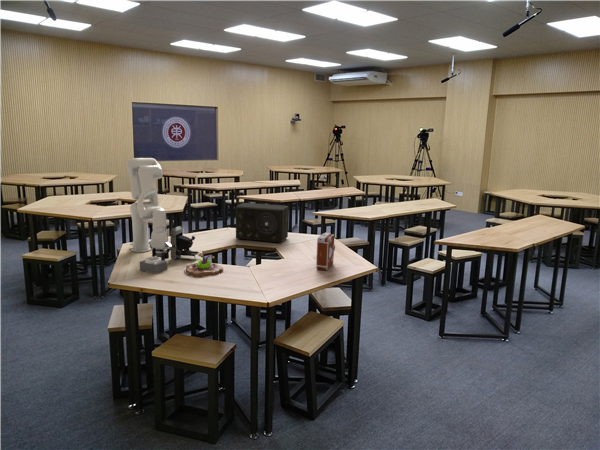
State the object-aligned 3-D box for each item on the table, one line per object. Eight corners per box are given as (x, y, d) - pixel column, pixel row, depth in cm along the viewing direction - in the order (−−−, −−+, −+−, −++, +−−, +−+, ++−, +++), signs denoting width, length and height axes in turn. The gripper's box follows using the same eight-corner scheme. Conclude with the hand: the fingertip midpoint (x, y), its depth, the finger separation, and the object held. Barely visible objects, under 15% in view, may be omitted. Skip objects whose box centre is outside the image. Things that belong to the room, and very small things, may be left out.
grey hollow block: (139, 270, 251) (139, 259, 250) (151, 266, 259) (151, 255, 258) (155, 273, 246) (155, 262, 245) (167, 269, 254) (166, 258, 253)
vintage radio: (231, 240, 325) (231, 206, 320) (241, 234, 343) (241, 202, 338) (281, 244, 316) (281, 210, 311) (288, 238, 335) (289, 205, 330)
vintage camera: (193, 262, 270) (194, 230, 266) (169, 259, 273) (170, 227, 269) (199, 258, 279) (200, 227, 275) (177, 255, 282) (177, 224, 278)
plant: (180, 269, 255) (179, 251, 253) (211, 264, 267) (211, 246, 265) (194, 279, 240) (194, 259, 237) (227, 273, 251) (227, 254, 249)
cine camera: (337, 262, 277) (338, 231, 273) (329, 271, 259) (330, 238, 255) (323, 261, 280) (324, 230, 276) (313, 269, 262) (315, 236, 258)
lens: (154, 262, 266) (153, 249, 264) (160, 260, 270) (160, 247, 269) (160, 264, 264) (160, 251, 262) (167, 261, 268) (166, 249, 267)
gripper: (143, 228, 263) (145, 256, 267) (166, 232, 256) (167, 261, 259) (153, 226, 270) (154, 253, 273) (175, 230, 262) (176, 258, 266)
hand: (160, 257), depth 266 cm, fingers open, 9 cm apart
